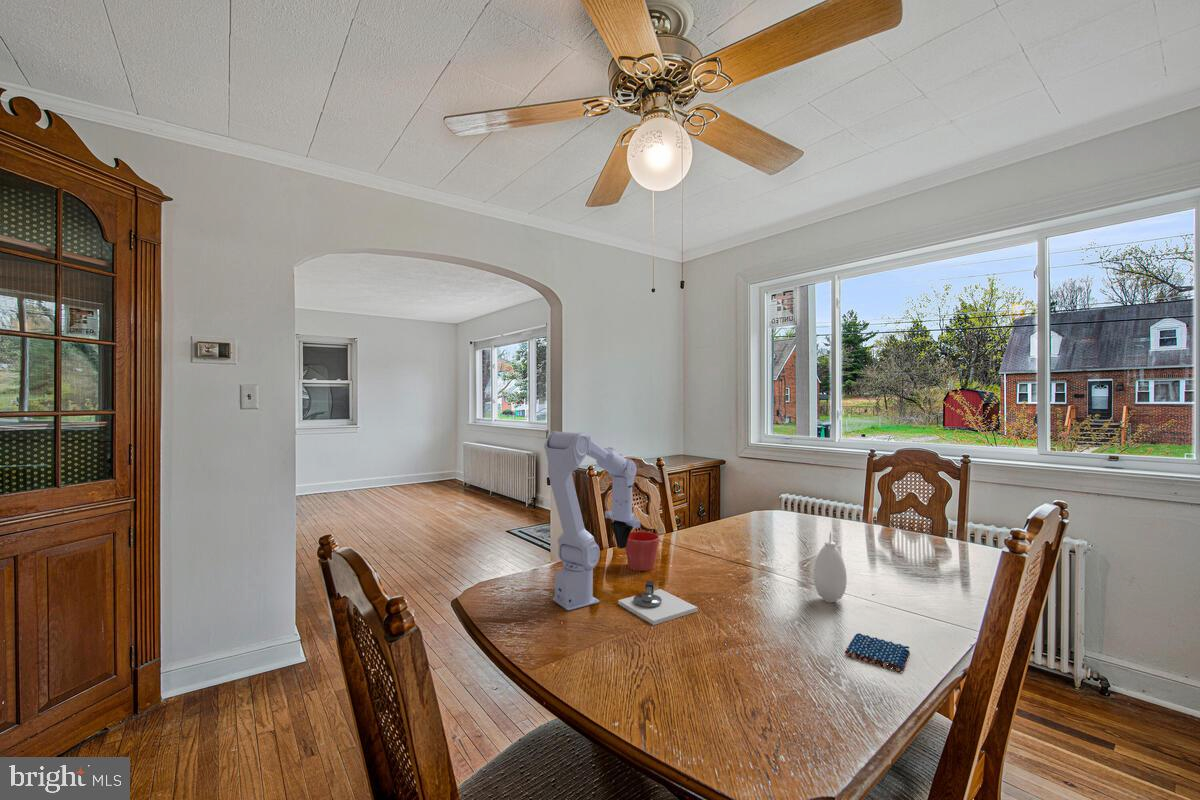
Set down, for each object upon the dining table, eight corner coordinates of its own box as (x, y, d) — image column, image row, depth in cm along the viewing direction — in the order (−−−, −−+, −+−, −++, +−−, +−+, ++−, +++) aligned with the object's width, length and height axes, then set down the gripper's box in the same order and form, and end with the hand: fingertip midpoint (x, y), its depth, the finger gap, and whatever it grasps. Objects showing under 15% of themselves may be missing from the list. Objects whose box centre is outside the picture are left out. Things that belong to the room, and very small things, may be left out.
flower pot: (647, 575, 149) (647, 542, 149) (616, 567, 155) (617, 536, 155) (665, 566, 157) (665, 535, 157) (635, 559, 164) (636, 529, 164)
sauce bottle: (850, 608, 126) (850, 537, 126) (816, 606, 128) (817, 535, 128) (841, 596, 134) (842, 529, 134) (810, 594, 135) (811, 527, 135)
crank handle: (660, 608, 122) (660, 598, 122) (631, 605, 124) (631, 596, 124) (663, 590, 133) (663, 581, 133) (637, 588, 135) (637, 579, 135)
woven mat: (854, 639, 111) (854, 630, 111) (910, 655, 105) (910, 645, 105) (842, 658, 103) (842, 648, 103) (902, 676, 97) (902, 665, 97)
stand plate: (653, 625, 116) (653, 620, 116) (618, 604, 128) (618, 599, 128) (697, 611, 124) (697, 606, 124) (660, 592, 136) (660, 588, 136)
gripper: (649, 503, 141) (648, 551, 141) (618, 494, 153) (618, 539, 153) (628, 506, 137) (628, 556, 137) (599, 497, 149) (598, 543, 149)
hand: (621, 547), depth 144 cm, fingers closed
